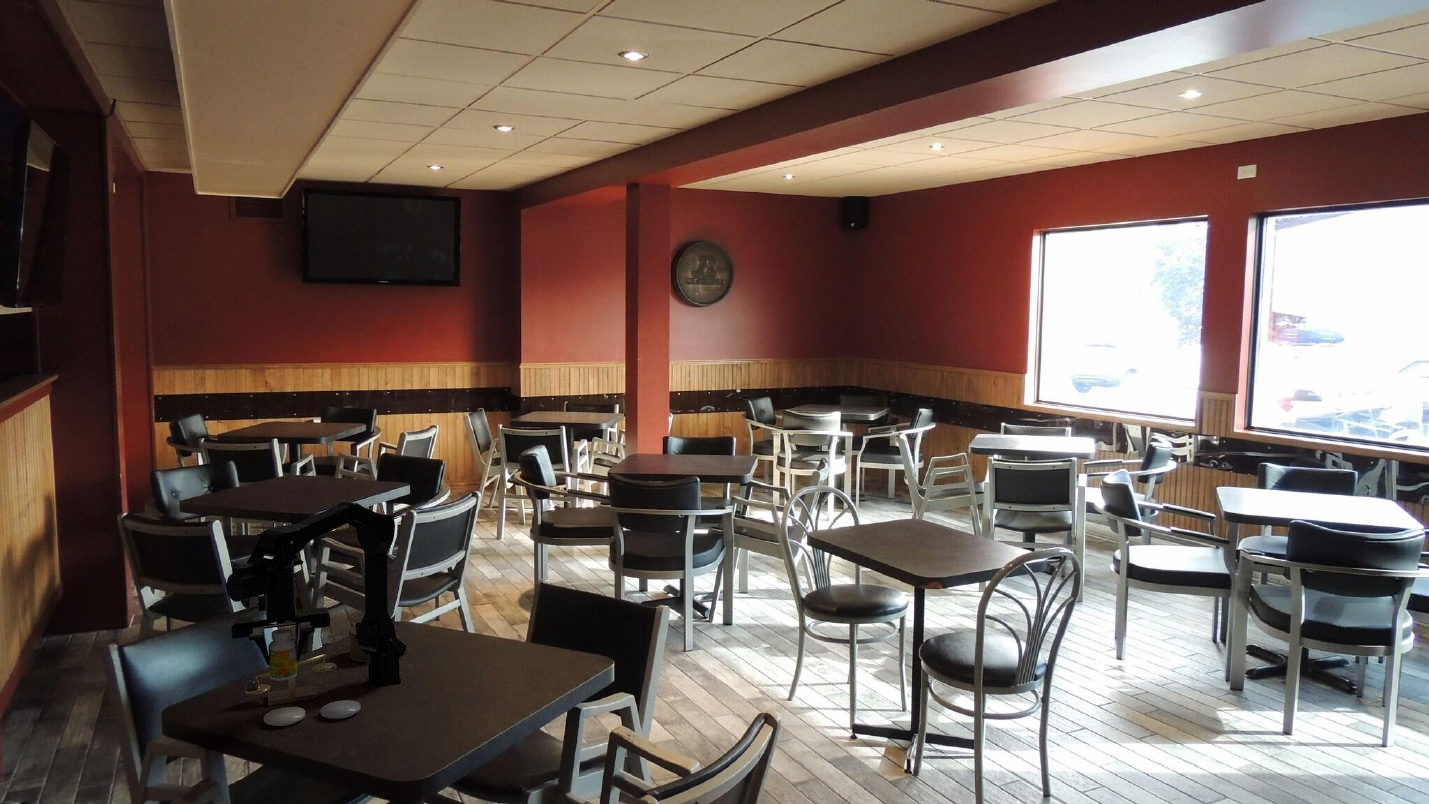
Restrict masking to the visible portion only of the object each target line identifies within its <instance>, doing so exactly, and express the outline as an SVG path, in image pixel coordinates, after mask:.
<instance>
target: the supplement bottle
mask: <svg viewBox="0 0 1429 804" xmlns="http://www.w3.org/2000/svg"><path fill="white" fill-rule="evenodd" d="M271 640H272V641H270V643H269V644H268V647H267V649H268V655H269V665H268V669H269V671H268V672H269V674H270V676H269V678H270V679H271V680H272V681H288V679H291V678H293V677H295V678H296V676H297V675H298V667H297V663H298V661H297V641H296V640H295V639H293V629H291V628H287V627H282V628H278V629H274V630H273V631H271Z"/></svg>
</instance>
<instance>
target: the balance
mask: <svg viewBox="0 0 1429 804" xmlns="http://www.w3.org/2000/svg"><path fill="white" fill-rule="evenodd" d="M326 657H327V654H326V653H324V654H323V653H322V654H320V655H317V656H313V657H310V658H307V659H305V660H302V661H297V668H299V667H302V666H305V665H308V664H310V663H314V662H316V661H320V660H322V659H323V660H322V661H323V662H321V663H318V664H315V665H313V666H312V672H314V673H321V674H322V673H329V672H332V671H334V670H336V669H337V664H336V663H335V662H326ZM268 677H270V674H269V671H268V672H265V673H262V674H258V675H256V676H255V679H248V680H246V681H245V682H244V683H245V685H244V686H245V694H246V695H249V696H257V695H262V694H266V693H267V705H270V706H276V705H283V704H290V703H296V702H301V701H303V700H304V701H308V700H309V699H310V700H315V699H314V698H317V699H318V689H317V687H316V684H313V685H306V686H299V687H296V676H295V677H293V678H291V679H287V682H288V683H287V684H288V688H285V689H279V690H278V689H277V690H272V688H271V687H272V686H271V685H269V684H265V683H263V684H262V683H261V684H260V680H262V679H265V678H268Z"/></svg>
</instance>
